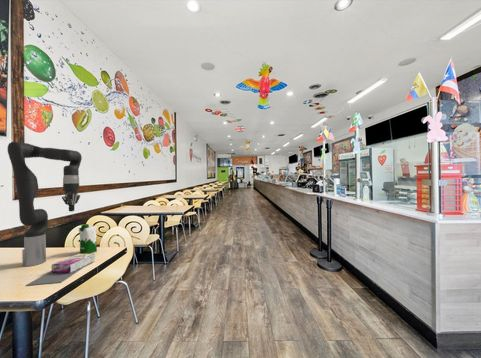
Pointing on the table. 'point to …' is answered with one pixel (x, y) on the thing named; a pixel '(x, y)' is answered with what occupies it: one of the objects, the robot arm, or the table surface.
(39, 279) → the mat
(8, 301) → the table surface
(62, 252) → the table surface
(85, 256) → the candy bar box
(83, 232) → the milk carton
